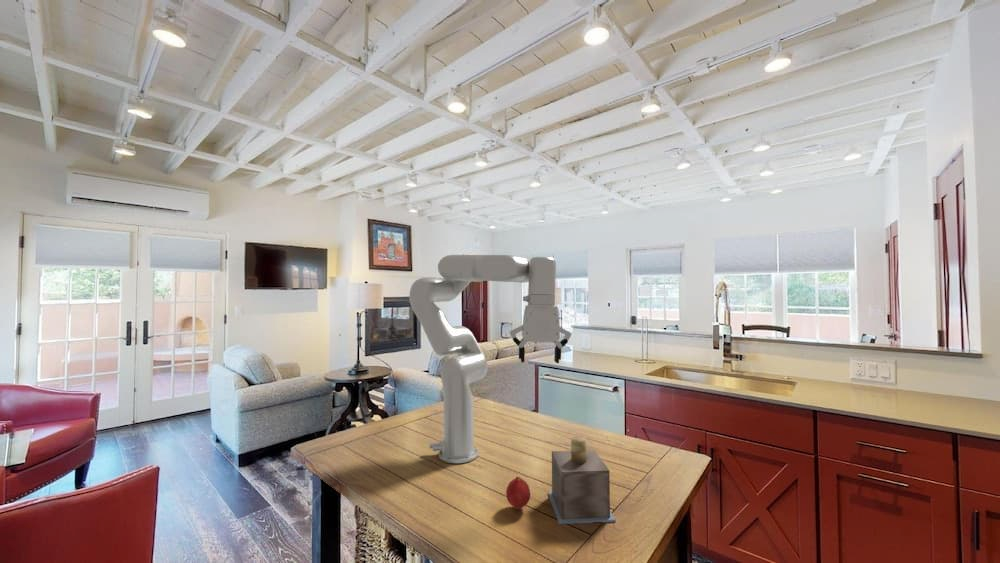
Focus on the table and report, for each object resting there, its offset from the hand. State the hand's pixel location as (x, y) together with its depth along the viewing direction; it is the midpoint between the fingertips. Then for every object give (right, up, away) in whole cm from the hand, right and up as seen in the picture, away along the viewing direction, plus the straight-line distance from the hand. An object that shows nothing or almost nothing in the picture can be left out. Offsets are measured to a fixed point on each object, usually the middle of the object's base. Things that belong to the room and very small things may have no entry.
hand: (539, 361), depth 105 cm
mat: (+8, -32, -14) cm, 36 cm away
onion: (-7, -33, -15) cm, 36 cm away
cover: (+8, -32, -14) cm, 36 cm away
